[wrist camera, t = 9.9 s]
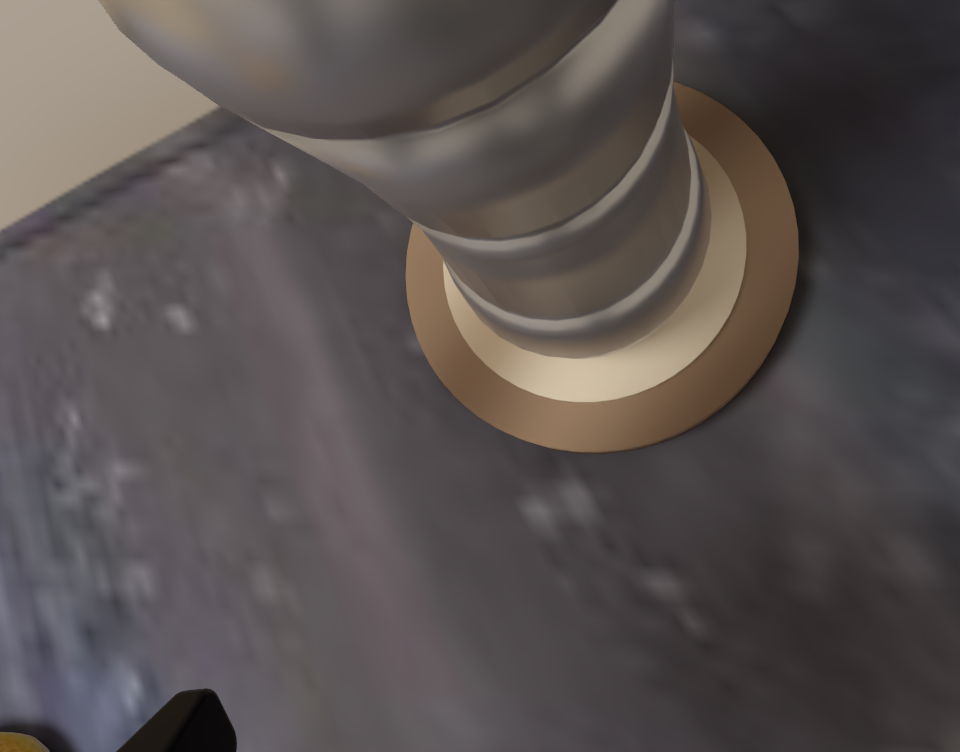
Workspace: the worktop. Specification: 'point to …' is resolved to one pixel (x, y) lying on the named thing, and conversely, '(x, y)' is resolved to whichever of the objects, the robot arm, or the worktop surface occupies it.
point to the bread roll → (20, 743)
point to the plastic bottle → (480, 140)
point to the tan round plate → (662, 356)
